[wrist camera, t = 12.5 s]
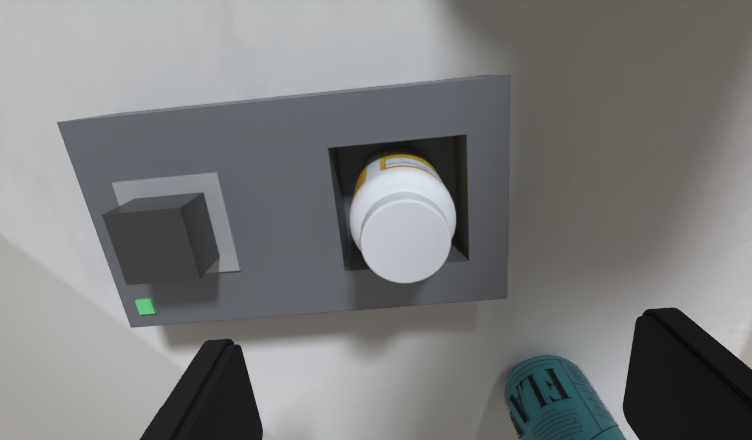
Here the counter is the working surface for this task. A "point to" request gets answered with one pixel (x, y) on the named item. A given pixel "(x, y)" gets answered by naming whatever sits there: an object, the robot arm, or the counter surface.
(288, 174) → the control panel
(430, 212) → the supplement bottle
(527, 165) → the counter surface
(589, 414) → the beverage bottle
